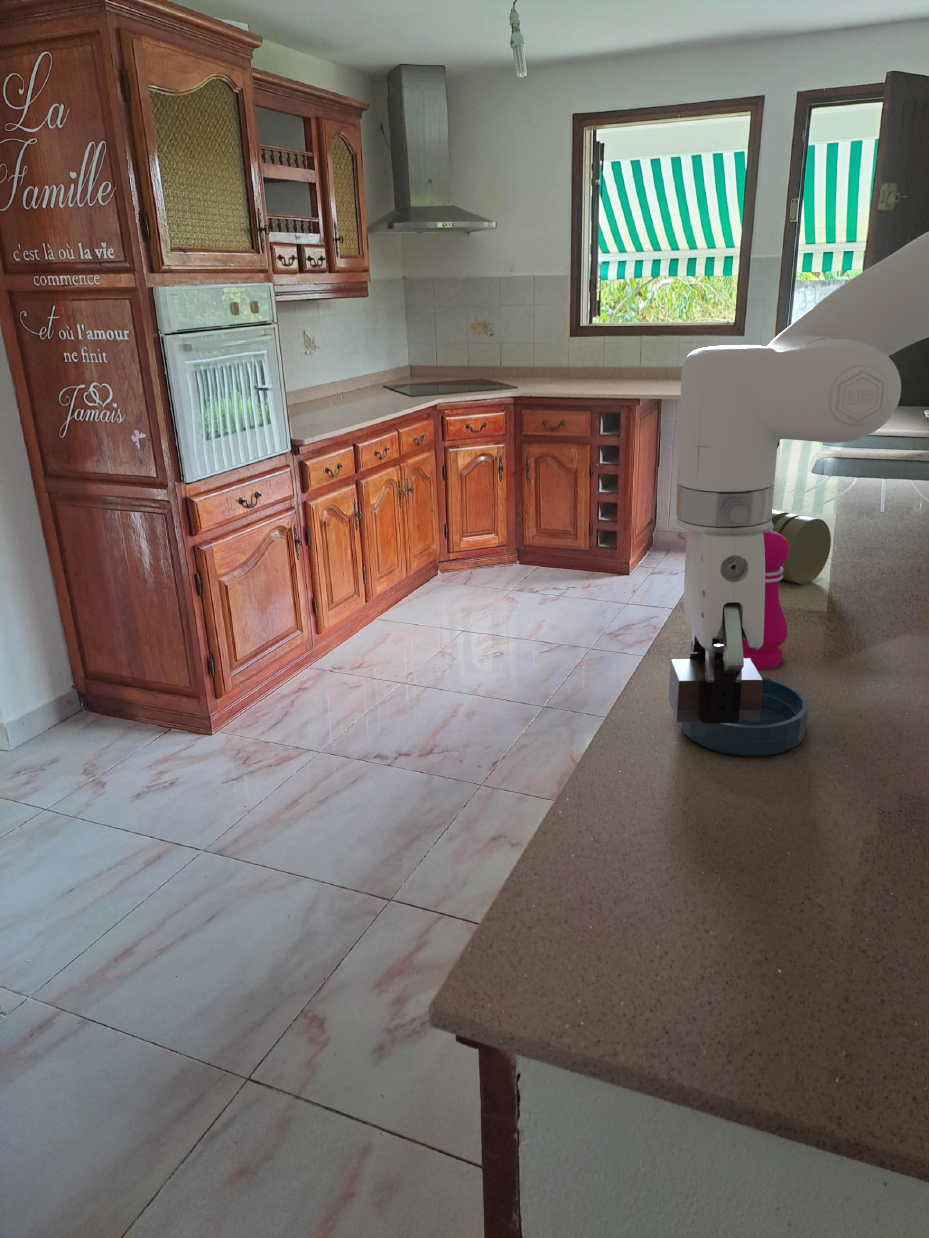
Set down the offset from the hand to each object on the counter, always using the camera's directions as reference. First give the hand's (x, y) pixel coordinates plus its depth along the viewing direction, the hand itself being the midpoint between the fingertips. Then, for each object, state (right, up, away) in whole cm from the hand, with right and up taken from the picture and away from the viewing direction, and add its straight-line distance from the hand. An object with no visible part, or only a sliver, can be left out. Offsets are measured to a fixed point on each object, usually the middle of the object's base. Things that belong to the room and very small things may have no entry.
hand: (712, 705), depth 78 cm
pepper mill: (+19, +2, +44) cm, 48 cm away
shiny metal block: (0, 0, 0) cm, 0 cm away
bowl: (+11, -5, +26) cm, 29 cm away
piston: (+34, +15, +78) cm, 86 cm away
